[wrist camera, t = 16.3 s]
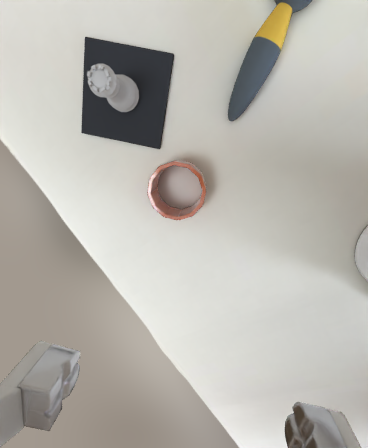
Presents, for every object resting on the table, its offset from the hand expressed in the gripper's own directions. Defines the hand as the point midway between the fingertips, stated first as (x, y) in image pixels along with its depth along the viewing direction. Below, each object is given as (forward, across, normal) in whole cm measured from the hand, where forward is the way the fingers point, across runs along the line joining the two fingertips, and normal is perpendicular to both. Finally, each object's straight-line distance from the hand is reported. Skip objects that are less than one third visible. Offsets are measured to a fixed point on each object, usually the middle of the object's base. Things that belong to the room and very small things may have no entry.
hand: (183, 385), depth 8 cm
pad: (+29, -14, +13) cm, 35 cm away
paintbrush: (+29, +4, +22) cm, 37 cm away
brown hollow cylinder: (+29, -4, +2) cm, 29 cm away
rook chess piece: (+29, -14, +13) cm, 34 cm away
